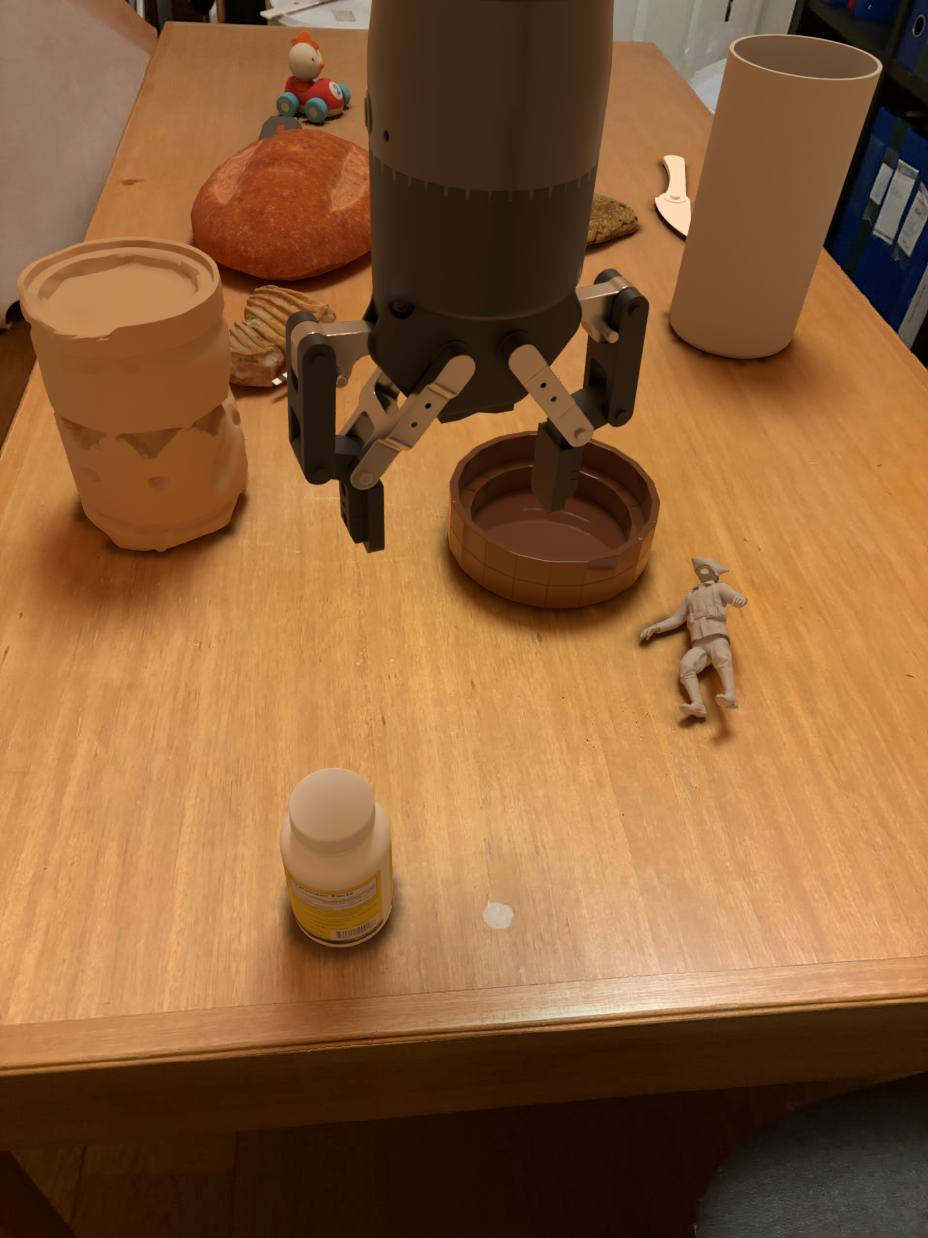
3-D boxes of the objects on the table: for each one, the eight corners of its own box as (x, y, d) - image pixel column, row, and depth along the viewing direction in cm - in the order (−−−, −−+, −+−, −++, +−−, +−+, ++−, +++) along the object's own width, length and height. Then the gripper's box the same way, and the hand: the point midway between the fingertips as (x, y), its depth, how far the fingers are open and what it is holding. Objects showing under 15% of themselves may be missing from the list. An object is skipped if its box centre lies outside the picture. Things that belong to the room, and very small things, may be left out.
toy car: (327, 126, 130) (323, 45, 123) (271, 115, 132) (264, 35, 125) (356, 107, 136) (353, 29, 129) (302, 97, 138) (296, 19, 131)
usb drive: (257, 165, 119) (255, 142, 117) (266, 132, 127) (264, 110, 125) (298, 167, 120) (296, 144, 118) (304, 133, 128) (303, 111, 126)
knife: (654, 158, 127) (656, 150, 127) (687, 162, 127) (688, 154, 126) (653, 239, 109) (655, 230, 109) (690, 243, 109) (692, 234, 108)
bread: (406, 179, 118) (407, 103, 112) (383, 300, 96) (382, 213, 90) (229, 168, 118) (220, 91, 112) (165, 286, 96) (148, 198, 90)
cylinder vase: (652, 341, 93) (713, 60, 75) (686, 290, 101) (748, 25, 83) (776, 375, 90) (870, 90, 72) (801, 319, 98) (891, 50, 80)
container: (177, 575, 67) (123, 349, 54) (49, 515, 70) (-31, 289, 57) (284, 484, 74) (260, 267, 61) (163, 434, 78) (116, 220, 65)
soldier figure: (639, 721, 61) (629, 560, 66) (679, 739, 64) (666, 584, 69) (748, 693, 56) (727, 522, 61) (786, 714, 59) (763, 549, 64)
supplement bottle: (326, 842, 52) (314, 737, 45) (410, 882, 51) (412, 781, 44) (271, 922, 49) (249, 823, 42) (360, 969, 47) (353, 874, 40)
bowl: (683, 586, 68) (699, 534, 65) (494, 635, 64) (500, 583, 60) (590, 466, 78) (599, 416, 74) (419, 502, 74) (420, 450, 70)
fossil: (345, 340, 90) (255, 317, 90) (348, 290, 86) (253, 266, 85) (310, 423, 83) (213, 399, 83) (311, 374, 79) (208, 348, 79)
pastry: (645, 259, 106) (651, 233, 104) (494, 250, 106) (496, 224, 103) (630, 198, 118) (634, 173, 116) (494, 190, 118) (495, 165, 115)
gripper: (298, 204, 26) (330, 614, 37) (735, 157, 30) (640, 540, 41) (240, 112, 30) (284, 501, 42) (623, 83, 34) (566, 445, 46)
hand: (461, 520), depth 42 cm, fingers open, 8 cm apart
